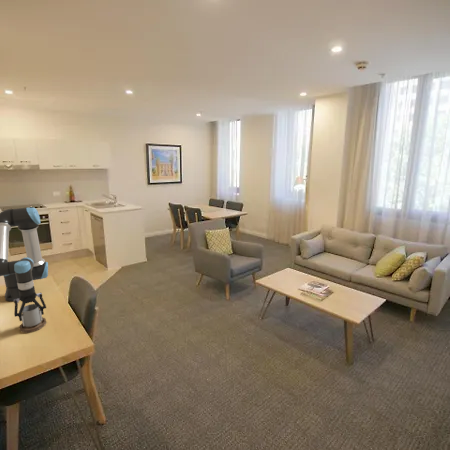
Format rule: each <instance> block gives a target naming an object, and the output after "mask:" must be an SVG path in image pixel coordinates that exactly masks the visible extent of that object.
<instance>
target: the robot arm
mask: <svg viewBox="0 0 450 450" xmlns="http://www.w3.org/2000/svg"><path fill="white" fill-rule="evenodd" d="M40 224H41V217H40V214H39V212H38V209H37V208H35V207H20V208H7V209H4V210H2V211H0V277H2V276H3V278H4V284H5V289H6V290H5V294H4V299H5V301H7V302H13V303H14V313H13V314H14V317H18V320H19V322H22V323H23V326H25V324H24V319H23V314H22V311H23V309H24V307H25V306H26V304H29V303H33V304H36V305H37V307H39V311H40V317H41V321H43V319H42V317H43V316H42V315H44V314H45V313H44V309H47V305H46V302H45V300H44V298H43V294H42V292H39V293H37V292H36V289H35V288H36V287H35V282H34V281H36V280H37V281H38V280H43V279H47V277H48V276H49V262H48V261H46V259H44V258H43V256H42V251H41V250H42V249H41V245H40V239H39V236H38V228H39V225H40ZM12 227H17V229H18V230H19V231H20V232H21V235H22V239H23V245H24V249H25V250H24V251H25V253H26V257H23V258H21V259H20V260H12V261H9V246H10V245H9V244H10V243H9V241H10V239H9V238H10V231H11V230H12ZM36 297H38V298H39V300H40V302H41V304H42V305H41V304H40V303H39V301H37V299H36ZM20 301H21V305H20V309H19V310H18V306H19V305H18V304H19V302H20ZM22 323H21V324H22Z"/></svg>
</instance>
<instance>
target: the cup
mask: <svg viewBox="0 0 450 450" xmlns="http://www.w3.org/2000/svg"><path fill="white" fill-rule="evenodd" d="M22 314H23V319H24V324H25V326H26V327H31V326H35V325H37V324H39V323H40V322H41V317H40V311H39V307H37V305H36V304H35V303H32V304H27V305H25V306H24V309H23V311H22Z"/></svg>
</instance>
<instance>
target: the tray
mask: <svg viewBox="0 0 450 450" xmlns="http://www.w3.org/2000/svg"><path fill="white" fill-rule="evenodd" d="M42 319H43V321H41V322H40V323H39V324H37V325H35V326H31V327H26V326H23V323H21V324H20V325H19V330H20V332H22V333H25V334H27V333H34V332H37V331H39V330H41V329H43V328H44V327H45V326H46V325H47V320H46V318H45V317H44V316H42Z"/></svg>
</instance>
